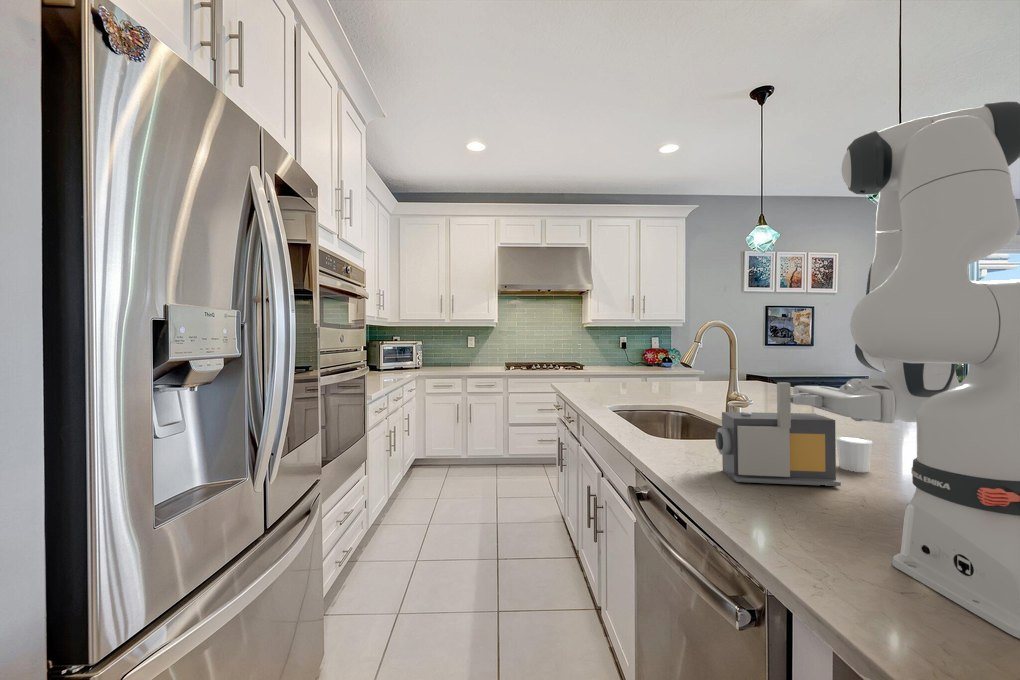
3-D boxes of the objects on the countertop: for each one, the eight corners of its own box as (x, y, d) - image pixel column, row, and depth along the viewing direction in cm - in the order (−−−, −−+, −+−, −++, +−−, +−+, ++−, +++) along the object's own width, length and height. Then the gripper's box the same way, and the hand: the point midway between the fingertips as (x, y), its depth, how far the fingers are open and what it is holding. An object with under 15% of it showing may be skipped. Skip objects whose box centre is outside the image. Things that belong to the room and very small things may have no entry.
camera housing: (840, 489, 87) (840, 418, 87) (726, 484, 91) (725, 416, 91) (815, 473, 97) (814, 410, 97) (713, 470, 101) (712, 409, 101)
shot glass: (859, 464, 104) (859, 436, 103) (881, 473, 97) (880, 443, 97) (829, 464, 104) (829, 435, 104) (848, 473, 97) (848, 442, 97)
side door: (791, 477, 89) (790, 383, 89) (740, 475, 91) (739, 383, 90) (788, 475, 90) (787, 382, 90) (737, 473, 92) (736, 382, 92)
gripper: (834, 379, 97) (769, 379, 100) (899, 391, 77) (816, 390, 79) (834, 406, 97) (769, 406, 100) (900, 425, 77) (816, 423, 80)
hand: (790, 399), depth 89 cm, fingers closed
